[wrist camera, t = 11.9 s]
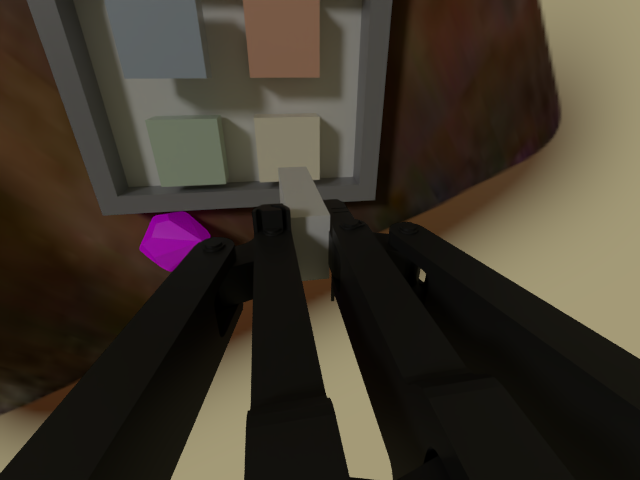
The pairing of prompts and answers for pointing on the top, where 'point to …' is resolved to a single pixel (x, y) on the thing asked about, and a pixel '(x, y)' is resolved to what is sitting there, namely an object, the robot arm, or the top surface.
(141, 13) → the key slate
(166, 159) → the key sage
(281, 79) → the grey tray
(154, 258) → the crystal
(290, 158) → the key cream
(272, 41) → the key terracotta
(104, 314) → the top surface
